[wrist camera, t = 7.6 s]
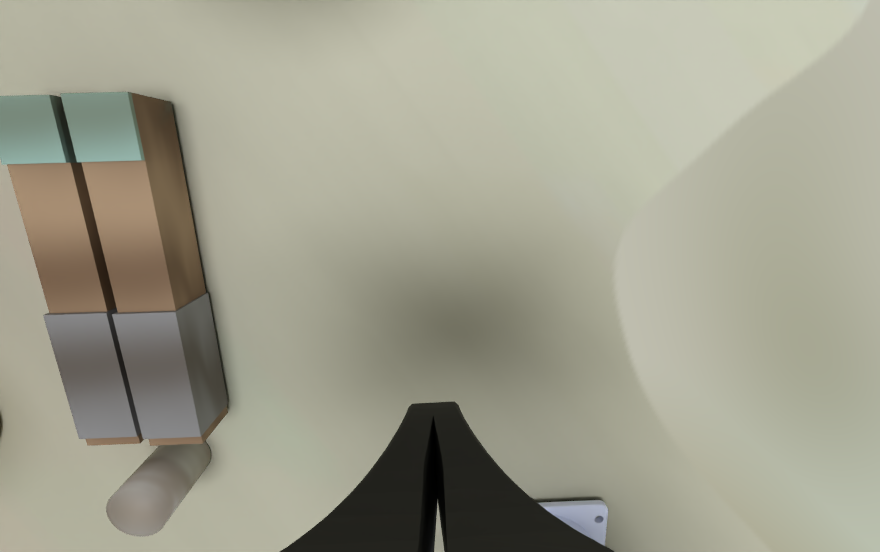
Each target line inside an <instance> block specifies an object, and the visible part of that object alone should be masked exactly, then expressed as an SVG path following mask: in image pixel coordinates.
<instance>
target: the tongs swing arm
mask: <svg viewBox="0 0 880 552" xmlns="http://www.w3.org/2000/svg"><path fill="white" fill-rule="evenodd" d="M60 95H61V99H62V103H63V107H64V111H65V115H66V119H67V123H68V127H69V131H70V135H71V139H72V143H73V147H74V152H75V156H76V160H77V162H81V163H82V167H83V171H84V175H85V179H86V183H87V188H88V192H89V196H90V200H91V204H92V208H93V212H94V216H95V220H96V225H97V229H98V233H99V237H100V241H101V245H102V249H103V253H104V257H105V262H106V266H107V270H108V274H109V278H110V282H111V286H112V290H113V294H114V299H115V303H116V307H117V311H118V312H116V313H114V314H112V316H113V320H114V324H115V328H116V332H117V336H118V340H119V344H120V349H121V353H122V357H123V361H124V365H125V369H126V373H127V377H128V381H129V385H130V389H131V393H132V397H133V401H134V405H135V409H136V413H137V417H138V421H139V425H140V429H141V433H142V437H143V439H149V442H150V446H154V445H178V444H202V443H204V441H205V440H206V439H207V438H208V436H209V435H210V434H211V433H212V431H213V430H214V429H215V428H216V426H217V425H218V424H219V423H220V421H221V420H222V419H223V418H224V416H225V415H226V414H227V413H228V411H227V405H228V400H227V394H226V389H225V383H224V378H223V372H222V367H221V361H220V356H219V350H218V345H217V339H216V334H215V328H214V323H213V317H212V312H211V306H210V301H209V295H208V293H206V290H205V285H204V279H203V274H202V268H201V263H200V257H199V252H198V246H197V241H196V235H195V230H194V224H193V219H192V213H191V208H190V203H189V197H188V192H187V186H186V181H185V175H184V170H183V164H182V159H181V153H180V148H179V142H178V137H177V131H176V126H175V120H174V115H173V109H172V104H171V102H169V101H164V100H160V99H156V98H152V97H147V96H143V95H139V94H134V93H130V92H103V93H64V94H60Z"/></svg>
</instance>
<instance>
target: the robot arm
mask: <svg viewBox="0 0 880 552" xmlns="http://www.w3.org/2000/svg"><path fill="white" fill-rule="evenodd" d="M437 501H438V504H439V512H440V520H441V528H442V535H443V543H444V551H445V552H614V551H613V550H611V549H609V548H607V547H606V546H605V539H606V528H607V518H608V508H607V506H606V504H605V503H604V502H603V501H601V500H587V501H564V502H541V503H537V502H536V501H535V500H533V499H532V498H531V497H529V496H528V495H527V494H526V493H525V492H524V491H523V490H522V489H521V488H519V487H518V486H517V485H516V484H515V483H514V482H513V481H512V480H511V479H510V478H509V477H508V476H507V475H506V474H505V473H504V471H503V470H502V469H501V468H500V467H499V466H498V465H497V464H496V462H495V461H494V460H493V459H492V458H491V456H490V455H489V454H488V453H487V451H486V450H485V449H484V447H483V446H482V445H481V443H480V442H479V440H478V439H477V438H476V436H475V435H474V433H473V432H472V430H471V429H470V427H469V425H468V424H467V422H466V420H465V419H464V417H463V415H462V413H461V411H460V408H459V405H458V404H457V403H456V402H438V403H419V404H412V405H411V406H410V407H409V408H408V411H407V413H406V415H405V417H404V419H403V421H402V423H401V425H400V427H399V429H398V430H397V432H396V434H395V435H394V437H393V438H392V440H391V442H390V443H389V445H388V447H387V448H386V450H385V451H384V452H383V454H382V455H381V457H380V458H379V459H378V461H377V462H376V463H375V465H374V466H373V468H372V469H371V470H370V471H369V473H368V474H367V475H366V476H365V478H364V479H363V480H362V481H361V482H360V483H359V484H358V486H357V487H356V488H355V489H354V490H353V491H352V492H351V493H350V494H349V495H348V496H347V497H346V498H345V499H344V500H343V501H342V502H341V503H340V504H339V505H338V506H337V507H336V508H335V509H334V510H333V511H332V512H331V513H330V514H329V515H328V516H327V517H325V518H324V519H323V520H322V521H321V522H319V523H318V524H317V525H316V526H315V527H313V528H312V529H311V530H309V531H308V532H307V533H306V534H304V535H303V536H302V537H300V538H299V539H298V540H296V541H295V542H294V543H292V544H291V545H289V546H288V547H286V548H285V549H283V550H282V551H280V552H434V544H435V530H436V515H437ZM597 516H599V517H597Z"/></svg>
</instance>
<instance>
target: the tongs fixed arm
mask: <svg viewBox="0 0 880 552" xmlns="http://www.w3.org/2000/svg"><path fill="white" fill-rule="evenodd" d="M0 159H1V163H2V164H7V166H8V170H9V173H10V177H11V180H12V184H13V187H14V191H15V194H16V198H17V201H18V204H19V208H20V211H21V215H22V218H23V222H24V225H25V229H26V232H27V236H28V239H29V243H30V246H31V250H32V253H33V257H34V260H35V264H36V267H37V271H38V274H39V278H40V281H41V285H42V288H43V292H44V295H45V299H46V302H47V306H48V309H49V313H47V314H45V315H43V316H44V320H45V323H46V327H47V330H48V334H49V337H50V340H51V344H52V347H53V351H54V354H55V358H56V361H57V364H58V368H59V371H60V375H61V378H62V382H63V385H64V388H65V392H66V395H67V399H68V402H69V406H70V409H71V412H72V416H73V419H74V423H75V426H76V430H77V433H78V437H79V439H86V442H87V445H112V444H137V443H141V442H142V441H143V440H144V439H143V437H142V433H141V429H140V425H139V421H138V417H137V413H136V409H135V405H134V401H133V397H132V393H131V389H130V385H129V381H128V377H127V373H126V369H125V365H124V361H123V357H122V353H121V349H120V344H119V340H118V336H117V332H116V328H115V324H114V320H113V316H112V314H114V313H116V312H118V311H117V307H116V303H115V299H114V294H113V290H112V286H111V282H110V278H109V274H108V270H107V266H106V262H105V257H104V253H103V249H102V245H101V241H100V237H99V233H98V229H97V225H96V220H95V216H94V212H93V208H92V204H91V200H90V196H89V192H88V188H87V183H86V179H85V175H84V171H83V167H82V163H81V162H77V160H76V156H75V152H74V147H73V143H72V139H71V135H70V131H69V127H68V123H67V119H66V115H65V111H64V107H63V103H62V99H61V97H58V96H53V95H22V96H0ZM210 460H211V451H210V448H209V446H208V445H207V443H206V442H205V441H204V443H202V444H178V445H160V446H159V447H158V448H157V449H156V450H155V451H154V452H153V453H152V454H151V455H150V456H149V457H148V458H147V459H146V460H145V461H144V462H143V464H142V465H141V466H140V467H139V468H138V469H137V470H136V471H135V472H134V473H133V474H132V475H131V476H130V477H129V478H128V479H127V480H126V481H125V483H124V484H123V485H122V486H121V487H120V488H119V489H118V490H117V491H116V492H115V493H114V494H113V495H112V496H111V497H110V499H109V500H108V502H107V506H106V512H107V516H108V518H109V520H110V521H111V523H112V524H113V525H114V526H115V527H116V528H117V529H119V530H120V531H122V532H124V533H126V534H129V535H133V536H149V535H152V534H155V533H157V532H158V531H160V530H161V529H162V528H163V526H164V525H165V524H166V522H167V521H168V520H169V518H170V517H171V515H172V514H173V513H174V511H175V510H176V508H177V507H178V506H179V504H180V503H181V502H182V500H183V499H184V497H185V496H186V495H187V493H188V492H189V491H190V489H191V488H192V486H193V485H194V484H195V482H196V481H197V480H198V478H199V477H200V475H201V474H202V473H203V471H204V470H205V469H206V467H207V466H208V464H209V463H210Z"/></svg>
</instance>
